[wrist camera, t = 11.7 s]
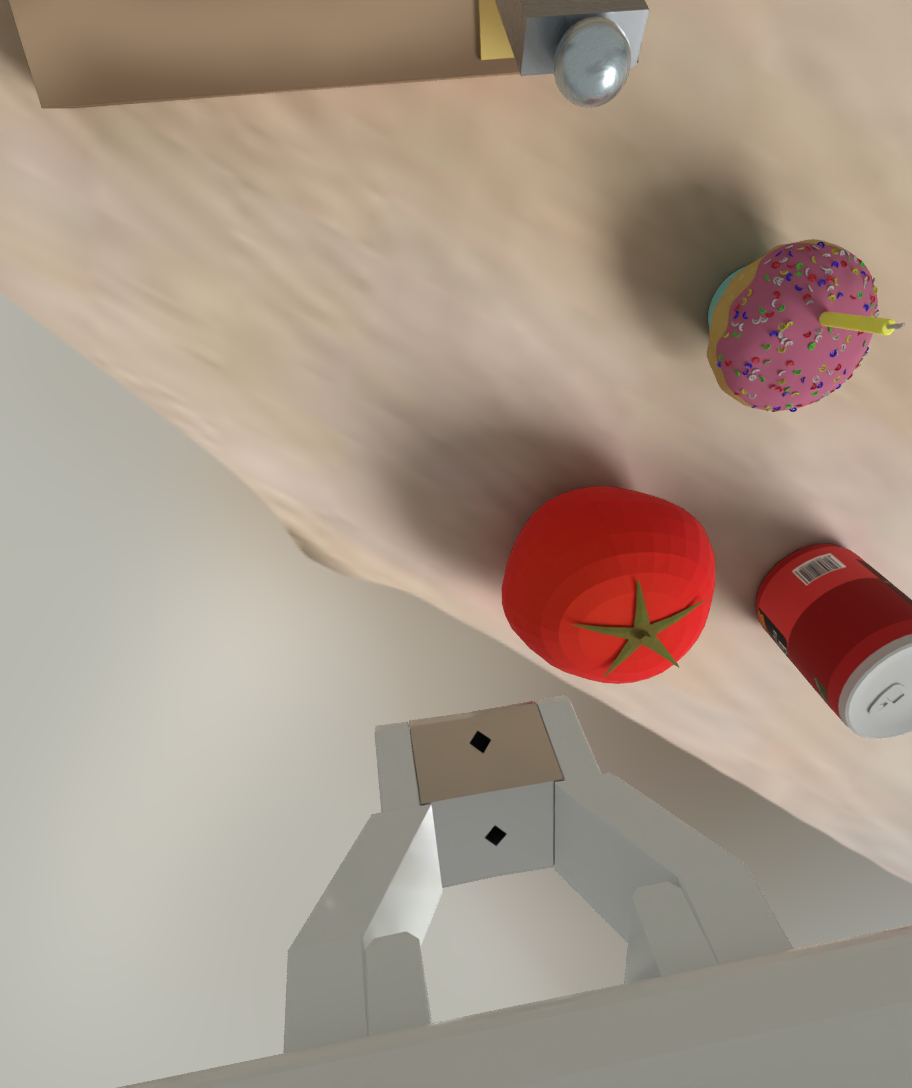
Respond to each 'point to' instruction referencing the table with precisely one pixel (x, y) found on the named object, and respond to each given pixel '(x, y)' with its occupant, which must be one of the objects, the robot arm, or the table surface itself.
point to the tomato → (609, 583)
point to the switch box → (250, 46)
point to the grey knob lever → (576, 43)
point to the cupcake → (793, 325)
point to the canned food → (844, 635)
